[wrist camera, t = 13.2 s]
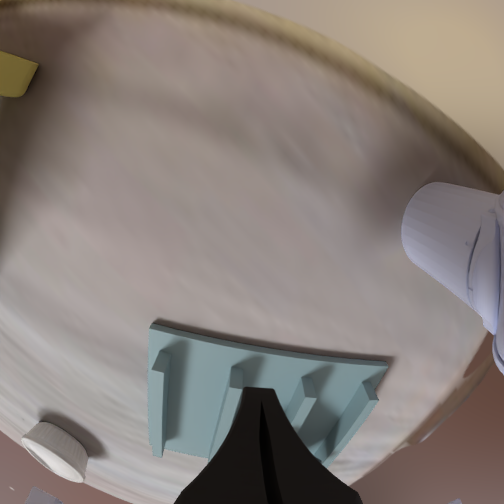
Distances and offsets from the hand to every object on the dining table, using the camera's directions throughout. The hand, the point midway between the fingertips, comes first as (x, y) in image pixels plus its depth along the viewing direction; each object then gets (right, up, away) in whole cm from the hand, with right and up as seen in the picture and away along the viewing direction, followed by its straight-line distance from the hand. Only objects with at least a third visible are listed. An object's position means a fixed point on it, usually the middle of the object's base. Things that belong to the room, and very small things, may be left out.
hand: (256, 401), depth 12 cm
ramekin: (-30, -22, +18) cm, 41 cm away
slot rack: (0, -9, +13) cm, 16 cm away
